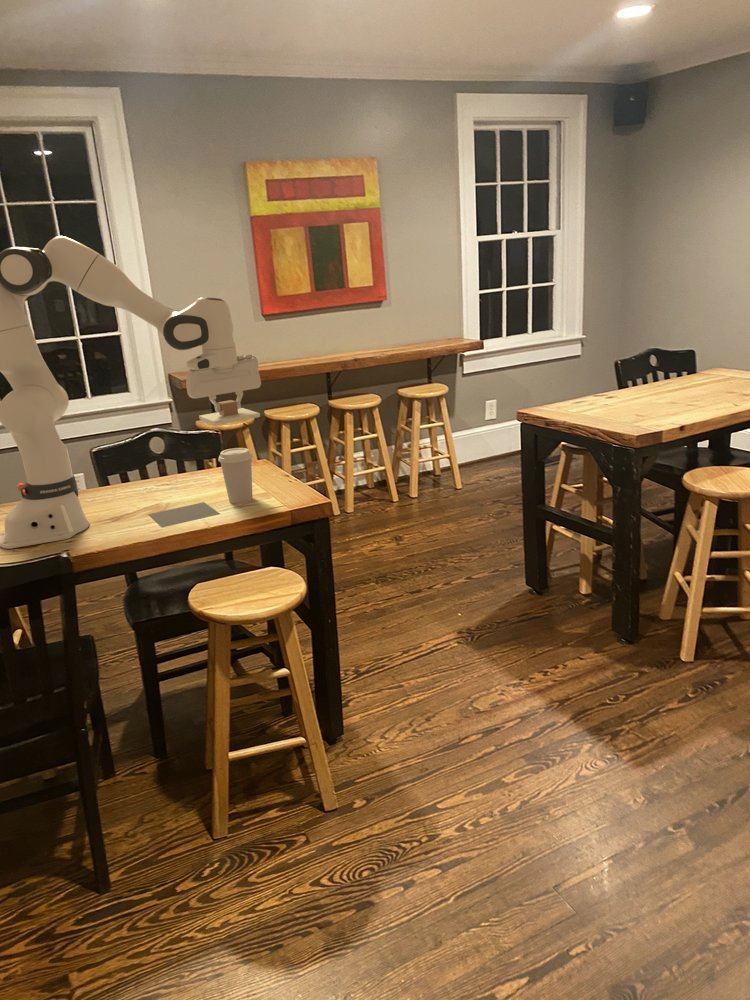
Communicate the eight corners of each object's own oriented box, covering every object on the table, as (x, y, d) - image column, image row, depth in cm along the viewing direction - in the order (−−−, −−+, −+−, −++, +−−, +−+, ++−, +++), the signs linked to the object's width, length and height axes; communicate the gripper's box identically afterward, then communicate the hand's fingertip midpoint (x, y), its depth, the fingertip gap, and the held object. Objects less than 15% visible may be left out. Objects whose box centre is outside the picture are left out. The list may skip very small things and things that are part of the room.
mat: (162, 529, 189) (161, 527, 189) (148, 516, 200) (148, 514, 200) (220, 515, 196) (220, 513, 196) (204, 504, 208) (204, 502, 208)
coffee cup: (218, 507, 204) (211, 455, 200) (232, 496, 213) (226, 447, 208) (250, 507, 202) (243, 455, 197) (263, 497, 210) (257, 447, 206)
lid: (214, 425, 191) (211, 408, 190) (199, 419, 202) (196, 403, 201) (260, 416, 197) (258, 400, 196) (243, 411, 208) (240, 395, 207)
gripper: (252, 353, 202) (258, 402, 206) (180, 363, 193) (189, 414, 197) (260, 354, 197) (267, 404, 201) (187, 364, 187) (196, 417, 192)
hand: (228, 409), depth 199 cm, fingers closed on lid, 4 cm apart
